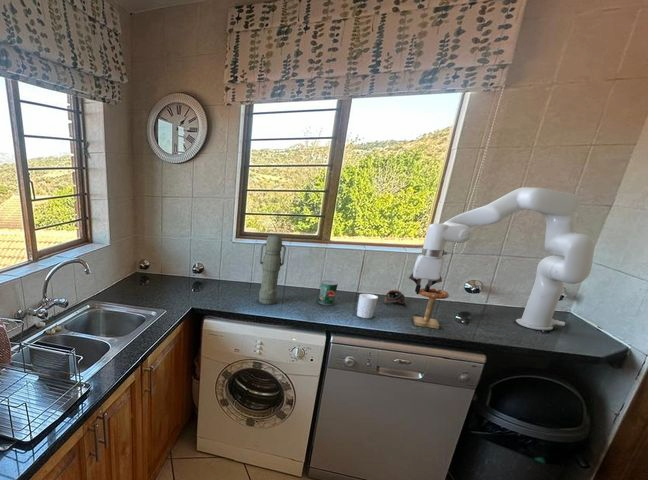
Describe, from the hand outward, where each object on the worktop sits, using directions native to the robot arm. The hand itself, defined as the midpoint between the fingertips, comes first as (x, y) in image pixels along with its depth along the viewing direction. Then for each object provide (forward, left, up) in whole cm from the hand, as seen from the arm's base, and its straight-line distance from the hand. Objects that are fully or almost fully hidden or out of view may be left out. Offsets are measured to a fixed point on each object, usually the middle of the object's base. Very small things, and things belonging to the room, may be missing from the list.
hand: (421, 293), depth 180 cm
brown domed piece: (+6, -28, -14) cm, 32 cm away
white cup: (+20, +1, -14) cm, 25 cm away
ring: (-5, 0, +1) cm, 5 cm away
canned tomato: (+38, -13, -14) cm, 43 cm away
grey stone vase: (+66, 0, -14) cm, 68 cm away
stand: (-5, 0, -14) cm, 15 cm away
